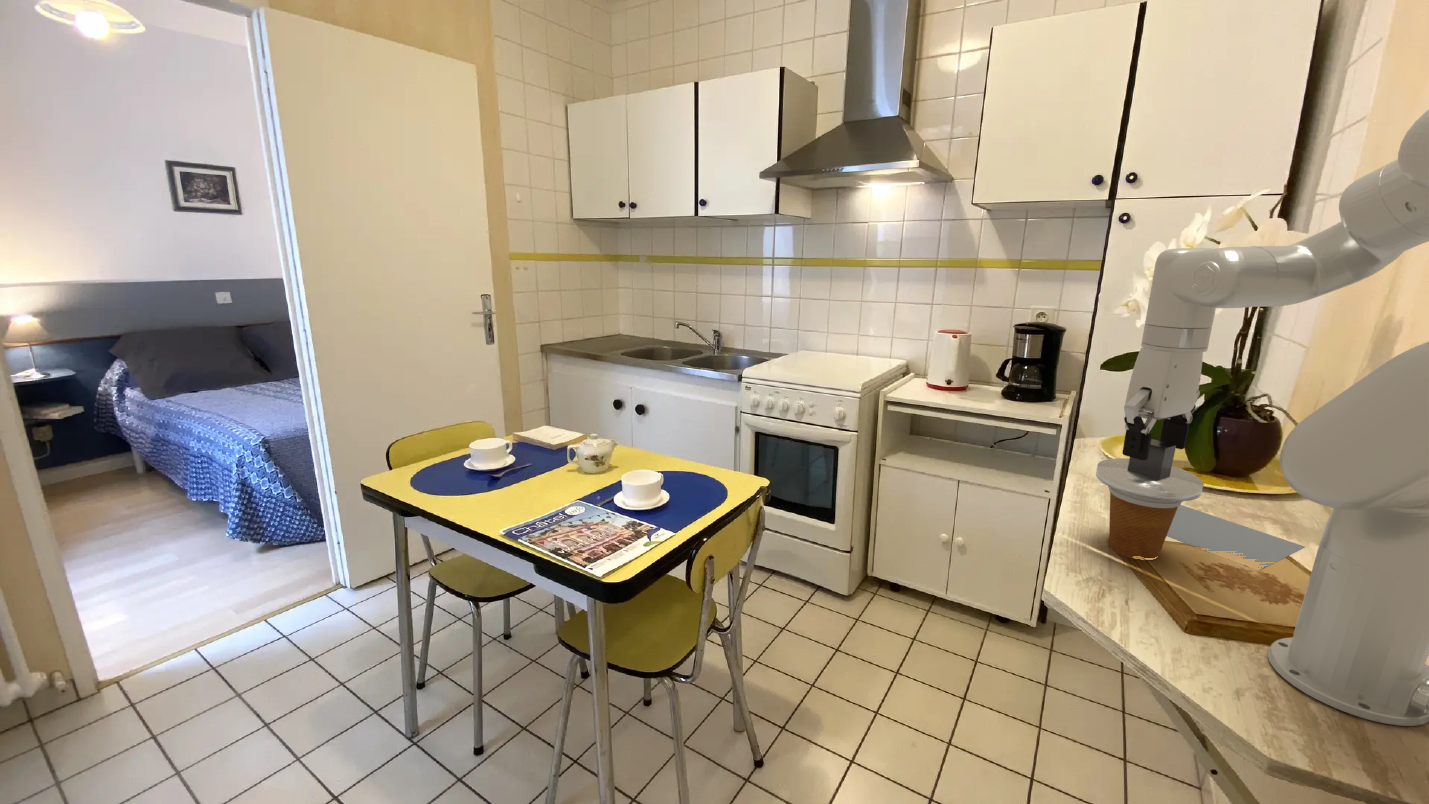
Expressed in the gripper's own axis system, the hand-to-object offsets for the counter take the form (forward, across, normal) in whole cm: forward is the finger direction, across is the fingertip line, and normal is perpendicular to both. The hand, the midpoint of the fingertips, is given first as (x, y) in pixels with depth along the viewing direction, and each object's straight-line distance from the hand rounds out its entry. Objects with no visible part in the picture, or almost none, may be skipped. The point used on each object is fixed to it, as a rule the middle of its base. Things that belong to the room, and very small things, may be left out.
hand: (1153, 451), depth 88 cm
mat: (+17, -17, +2) cm, 24 cm away
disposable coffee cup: (+17, 0, 0) cm, 17 cm away
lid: (+5, 0, 0) cm, 5 cm away
